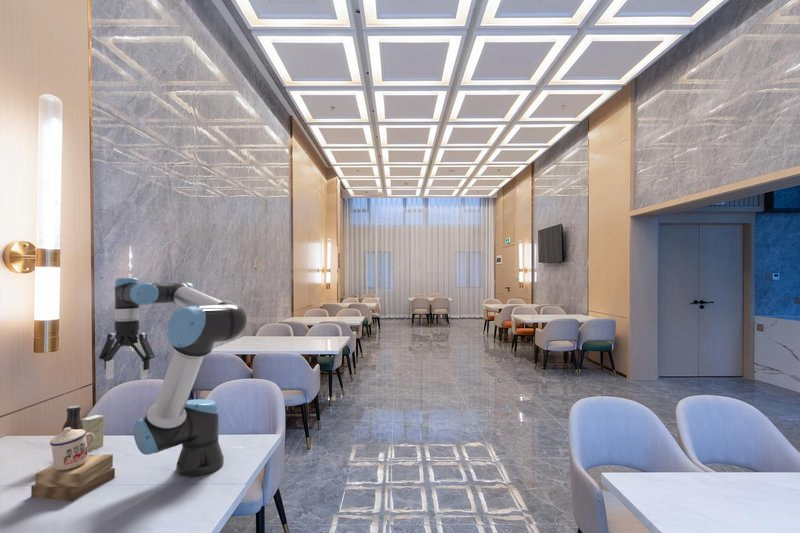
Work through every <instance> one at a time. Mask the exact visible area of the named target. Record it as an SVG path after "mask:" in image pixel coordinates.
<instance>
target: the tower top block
mask: <svg viewBox="0 0 800 533" xmlns="http://www.w3.org/2000/svg"><path fill="white" fill-rule="evenodd" d="M113 457H114V454H111V453H110V454H88V459H87V461H86V462H84V463H83V464H81V465H79V466H77V467H74V468H71V469H67V470H56V469H55V467H54V463H53V464H52V465H50V466H47V467H46V468H44V469H42V470H40V471H38V472H36V473H35V480H34V482H35V483H34V484H35V487H81V486H83V485H84V484H86V483H87V482H89V481H91V480H92V479H94V478H95V477H97V476H98V475H100V474H102V473H103V472H105V471H106V470H108V469H109V468H114V467H113V466H114V461H113V460H114V458H113Z"/></svg>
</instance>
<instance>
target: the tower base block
mask: <svg viewBox="0 0 800 533" xmlns="http://www.w3.org/2000/svg"><path fill="white" fill-rule="evenodd" d="M115 471H116V468H115V467H111V468H109V469H108V470H106V471H105V472H103V473H102V474H100V475H98V476H97V477H95V478H94V479H92V480H91V481H89V482H87V483H86V484H84V485H83V486H81V487H35V483H33V484H32V485H31V486H30V487H31V491H30V492H31V493H30V494H31V495H30V497H31V498H38V499H39V498H40V499H45V500H46V499H47V500H56V501H57V500H58V501H65V502H74V501H75V500H77V499H80V497H82V496H85V495H87V494H88V493H90V492H92V491H94V490H95V489H98V488H99V487H101V486H103V485H104V484H106V483H109V482H110V481H112V480H114V479H115V478H116V476H115V475H116V472H115Z"/></svg>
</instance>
